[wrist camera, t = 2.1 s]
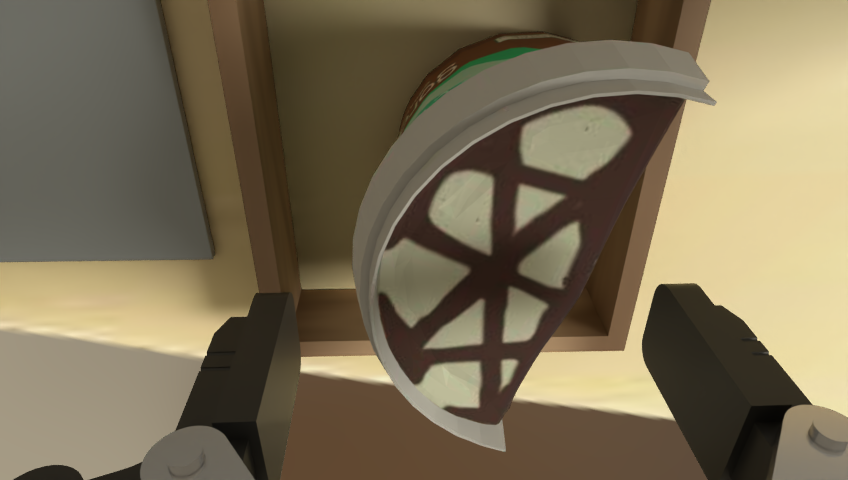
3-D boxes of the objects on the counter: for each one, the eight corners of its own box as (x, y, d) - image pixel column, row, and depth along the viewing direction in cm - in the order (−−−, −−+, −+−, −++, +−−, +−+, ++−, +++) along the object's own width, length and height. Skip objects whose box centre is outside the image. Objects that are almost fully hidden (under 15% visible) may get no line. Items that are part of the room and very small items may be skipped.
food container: (424, -67, 19) (443, -29, 10) (591, -4, 20) (732, 77, 12) (333, 240, 25) (298, 424, 16) (466, 274, 26) (498, 463, 18)
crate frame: (685, -118, 18) (740, -119, 15) (599, 299, 27) (623, 350, 24) (221, -121, 18) (185, -123, 15) (285, 304, 27) (271, 357, 24)
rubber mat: (139, -92, 18) (135, -92, 18) (215, 254, 25) (212, 259, 25) (-188, -94, 18) (-199, -94, 18) (-21, 257, 25) (-27, 262, 24)
